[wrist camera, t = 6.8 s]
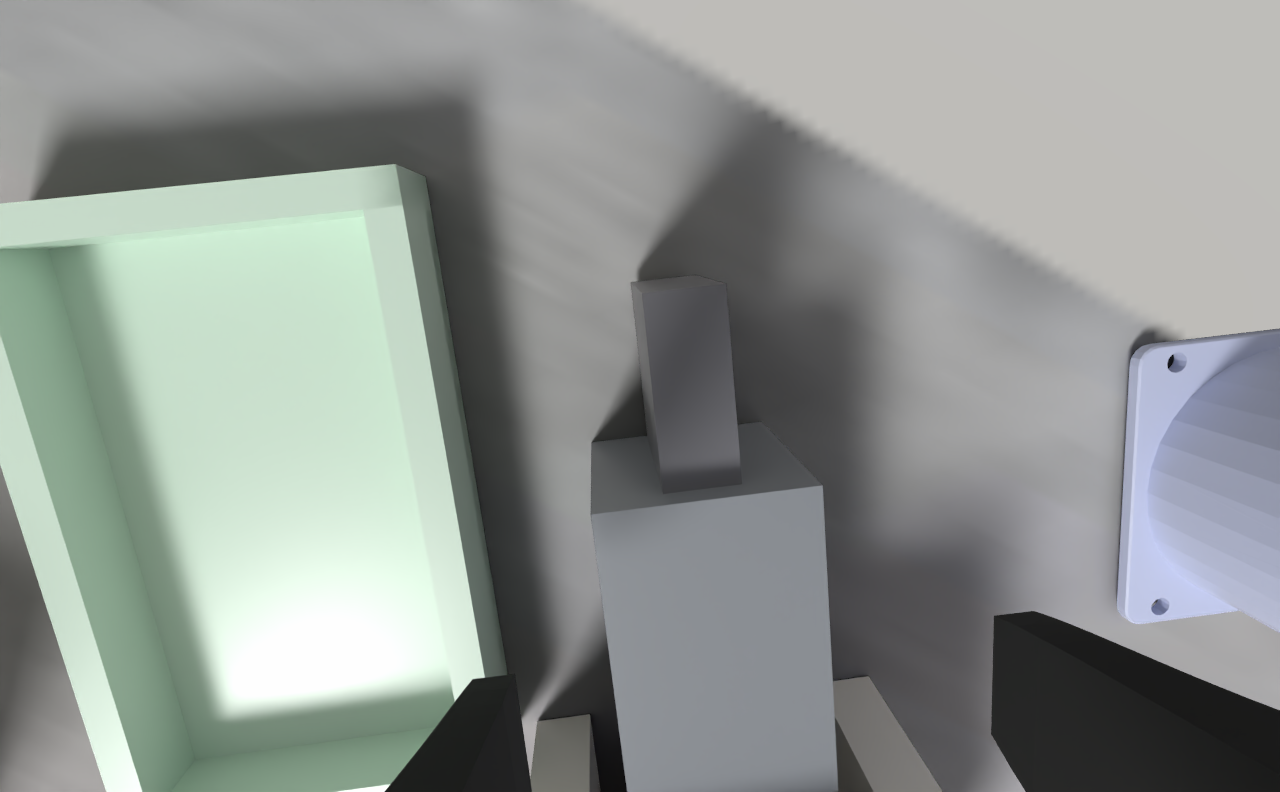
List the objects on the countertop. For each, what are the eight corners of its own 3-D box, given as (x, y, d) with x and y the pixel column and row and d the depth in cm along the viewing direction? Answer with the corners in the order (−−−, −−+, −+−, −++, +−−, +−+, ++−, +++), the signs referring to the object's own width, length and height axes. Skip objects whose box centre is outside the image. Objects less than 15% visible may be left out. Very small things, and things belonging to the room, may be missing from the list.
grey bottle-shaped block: (750, 267, 17) (812, 276, 12) (777, 655, 20) (838, 791, 15) (572, 287, 17) (562, 304, 12) (621, 676, 19) (631, 821, 15)
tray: (425, 176, 16) (395, 164, 14) (516, 727, 19) (505, 796, 17) (22, 217, 16) (-82, 212, 13) (185, 772, 19) (125, 849, 17)
